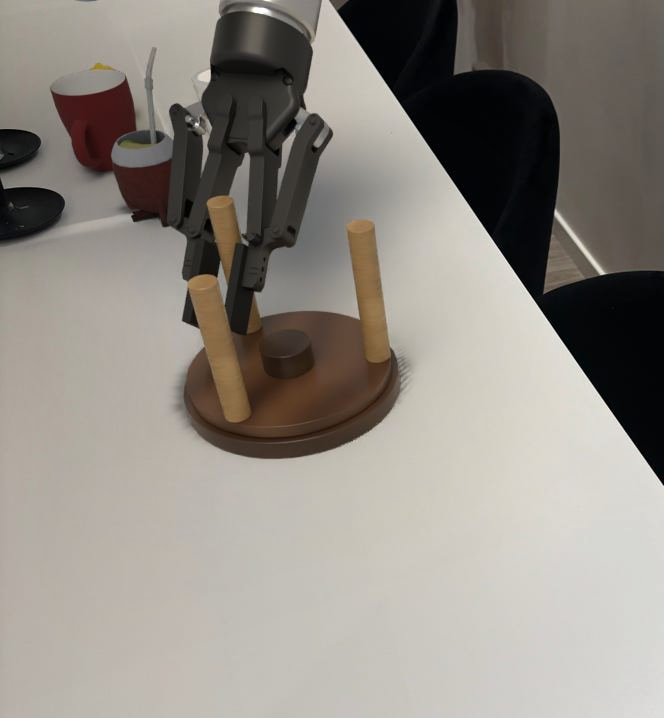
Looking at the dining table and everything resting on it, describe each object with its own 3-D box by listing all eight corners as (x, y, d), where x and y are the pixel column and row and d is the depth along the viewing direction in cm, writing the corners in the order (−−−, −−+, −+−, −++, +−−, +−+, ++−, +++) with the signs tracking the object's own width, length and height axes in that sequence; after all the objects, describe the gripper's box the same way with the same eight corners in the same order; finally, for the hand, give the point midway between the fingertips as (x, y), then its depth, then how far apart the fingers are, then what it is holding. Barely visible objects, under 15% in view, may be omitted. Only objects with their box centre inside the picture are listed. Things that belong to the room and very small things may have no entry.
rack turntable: (151, 422, 73) (101, 279, 64) (243, 312, 84) (210, 178, 76) (350, 450, 69) (324, 303, 61) (418, 331, 80) (404, 193, 72)
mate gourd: (133, 235, 99) (85, 84, 89) (124, 204, 104) (78, 58, 94) (205, 220, 101) (167, 70, 90) (193, 190, 106) (155, 45, 96)
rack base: (173, 363, 81) (168, 347, 80) (365, 316, 86) (363, 301, 84) (208, 483, 70) (203, 467, 69) (429, 422, 74) (427, 406, 73)
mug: (138, 195, 106) (110, 102, 99) (65, 199, 106) (32, 106, 99) (158, 156, 114) (134, 67, 107) (90, 159, 114) (62, 71, 107)
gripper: (376, 61, 77) (325, 351, 77) (202, 52, 81) (153, 327, 81) (340, 9, 70) (284, 329, 70) (151, 1, 74) (97, 304, 74)
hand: (214, 327), depth 75 cm, fingers open, 3 cm apart
